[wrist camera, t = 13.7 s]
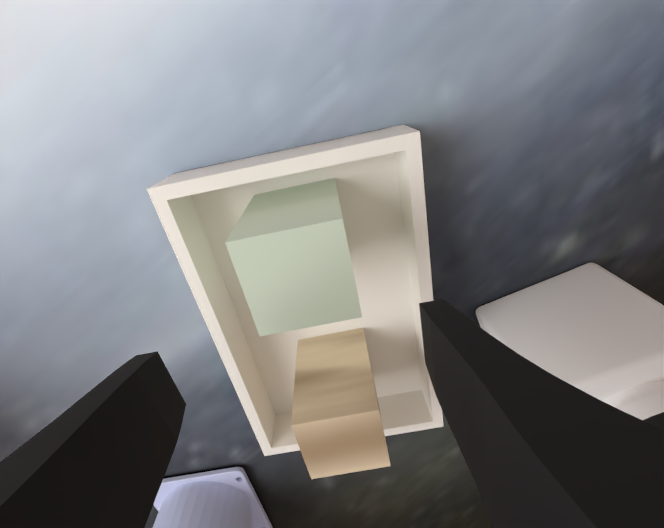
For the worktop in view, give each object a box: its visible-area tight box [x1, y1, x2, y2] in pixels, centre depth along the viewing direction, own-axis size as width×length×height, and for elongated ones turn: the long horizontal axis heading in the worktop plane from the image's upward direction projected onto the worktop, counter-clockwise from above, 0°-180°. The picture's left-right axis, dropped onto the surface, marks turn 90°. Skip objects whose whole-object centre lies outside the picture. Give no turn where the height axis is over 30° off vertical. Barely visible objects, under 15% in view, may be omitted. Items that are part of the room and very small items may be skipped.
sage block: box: [225, 178, 362, 336], centre depth 15 cm, size 4×4×6 cm
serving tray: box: [147, 125, 443, 456], centre depth 19 cm, size 17×11×3 cm, turn 11°
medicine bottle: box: [476, 262, 664, 430], centre depth 17 cm, size 7×7×12 cm
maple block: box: [291, 328, 391, 479], centre depth 19 cm, size 4×4×6 cm
